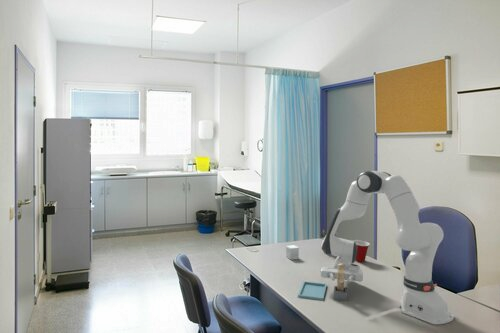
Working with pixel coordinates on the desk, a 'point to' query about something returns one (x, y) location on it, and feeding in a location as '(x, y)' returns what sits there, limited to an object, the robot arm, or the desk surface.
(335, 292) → the square cup
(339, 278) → the beech pin
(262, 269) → the desk surface
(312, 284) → the tray
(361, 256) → the plastic cup
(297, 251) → the product box
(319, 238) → the house plant
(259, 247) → the desk surface
